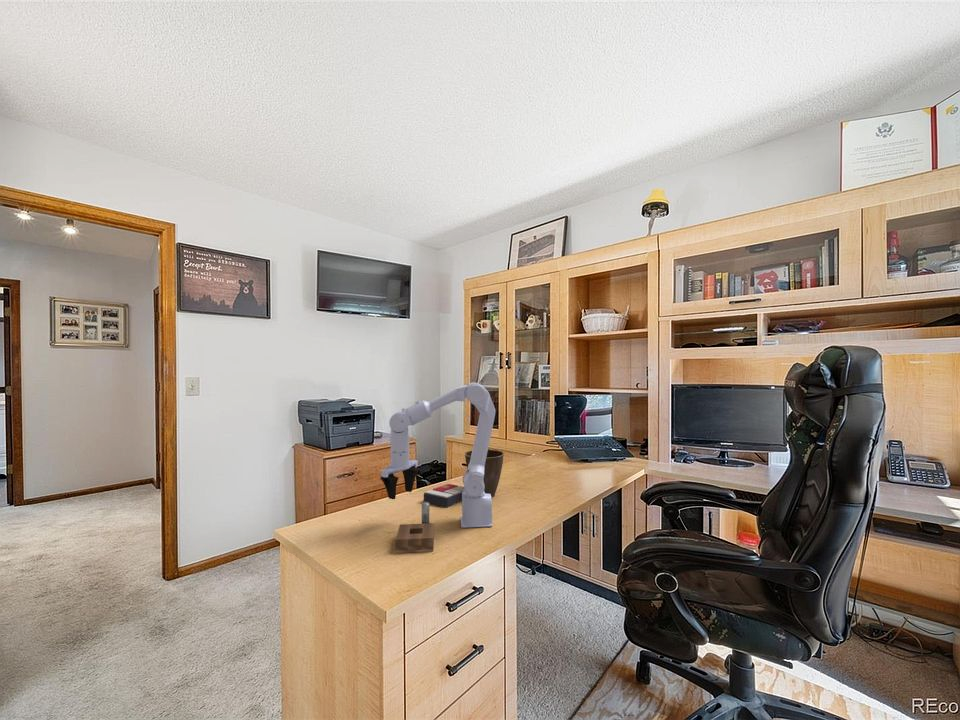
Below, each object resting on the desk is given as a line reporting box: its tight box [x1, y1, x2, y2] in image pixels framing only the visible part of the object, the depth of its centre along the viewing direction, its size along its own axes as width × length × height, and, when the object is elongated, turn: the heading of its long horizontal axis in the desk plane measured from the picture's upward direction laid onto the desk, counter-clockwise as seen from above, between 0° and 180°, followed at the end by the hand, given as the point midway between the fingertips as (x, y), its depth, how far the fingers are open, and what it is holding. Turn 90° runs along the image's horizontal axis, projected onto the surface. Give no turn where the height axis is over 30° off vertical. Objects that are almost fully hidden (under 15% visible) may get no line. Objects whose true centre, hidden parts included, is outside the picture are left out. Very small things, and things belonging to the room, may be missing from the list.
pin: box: [421, 501, 430, 524], centre depth 122 cm, size 2×2×7 cm
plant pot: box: [464, 449, 505, 498], centre depth 150 cm, size 15×15×16 cm
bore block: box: [394, 522, 436, 554], centre depth 110 cm, size 10×10×4 cm
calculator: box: [423, 483, 464, 509], centre depth 146 cm, size 11×4×15 cm
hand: (400, 494), depth 122 cm, fingers open, 7 cm apart
